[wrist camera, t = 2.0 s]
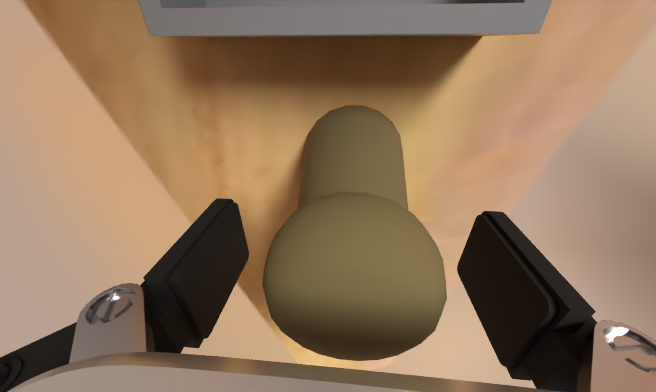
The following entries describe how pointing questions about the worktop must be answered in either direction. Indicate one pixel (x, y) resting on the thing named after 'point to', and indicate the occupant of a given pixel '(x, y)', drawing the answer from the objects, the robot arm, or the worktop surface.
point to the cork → (354, 247)
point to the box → (342, 18)
